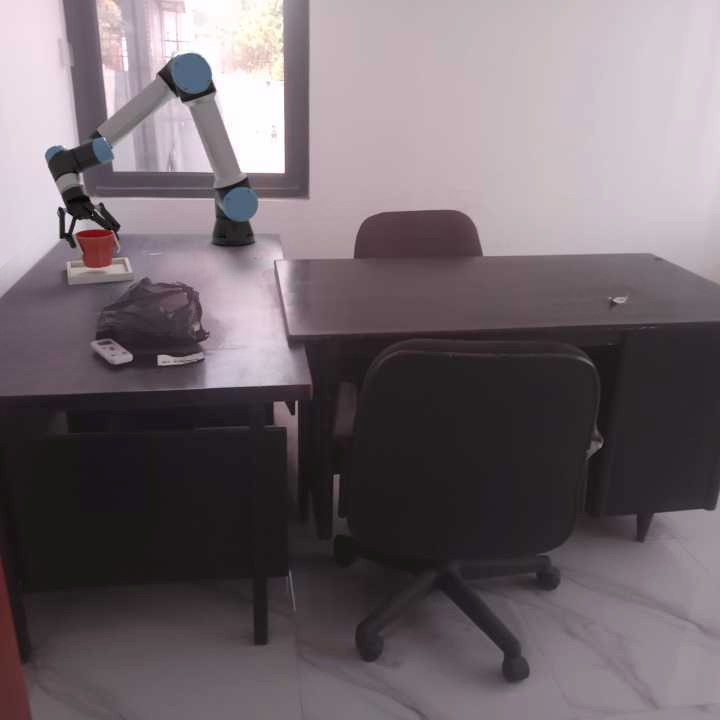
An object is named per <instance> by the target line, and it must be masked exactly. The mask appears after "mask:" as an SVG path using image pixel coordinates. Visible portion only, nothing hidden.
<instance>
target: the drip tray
mask: <svg viewBox="0 0 720 720" xmlns="http://www.w3.org/2000/svg"><path fill="white" fill-rule="evenodd" d="M129 260H130V259H129V258H128V257H117V258H116V257H115V258H113V257H112V262H111V265H110V266H108V267H102V268H88V267H86V266H85V265H84V263H83V260H75V261H74V260H72V261H66V270H67V271H66V272H67V274H66V275H67V283H68V286H73V285H83V284H97V283H98V284H99V283H109V282H123V281H133V280H134V273H133V270H132V266H131V263H130V261H129ZM132 279H133V280H132Z"/></svg>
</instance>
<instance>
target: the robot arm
mask: <svg viewBox="0 0 720 720" xmlns="http://www.w3.org/2000/svg"><path fill="white" fill-rule="evenodd" d="M215 84H216V83H215V82H214V79H213V71H212V67H211V65H210V63H209V61H208V60H207V58H205V56H204V55H202V54H201V53H199V52H197V51H192V50H183V51H180V52H176V53H175V54H174V55H173V56H171V58H169V60H168V61H167V62H166V64H165V65H164V66H163V67H162V68H161V69H160V70H159V71H157V72H156V73H155V79H154V80H151V82H150V83H149V84H147V85H146V86H145V87H144V88H143V89H142V90H141V91H139V92H138V93H137V94H136V95H135V96H133V97H132V98H131V99H130V100H129V101H128V102H127V103H125V104H124V105H123V106H122V107H121V108H120V109H119V110H117V111H116V112H115V113H114V114H112V115H111V116H110V117H109V118H107V120H105V121H104V122H103V123H102V124H100V126H99V127H97V128H96V130H94V131H93V132H92V133H90V134H89V135H87V136H85V137H84V138H83V139H82V140H81V141H80V144H79V145H77V146H76V147H72V148H70V149H68V147H67V146H65V145H60V144H59V145H54V146H51V147H49V148H48V149H47V150H45V154H44V159H45V162H46V164H47V167H48V170H49V172H50V175H51V176H52V179H53V181H54V183H55V185H56V188H57V190H58V192H59V195H60V196H61V199H62V201H63V204H64V206H65V207H62V206H58V208H57V210H56V214H57V216H58V219H59V220H58V221H59V222H58V223H59V226H58V227H59V228H58V230H59V231H58V232H59V235H58V236H59V237H58V238H59V239H60V240H63V239H64V240H65V241H66V242H68V244H69V246H70V248H71V249H72V250H73V249H74V251H75V253H76V255H77V258H78V259H79V260H82V256H83V252H82V249H81V247H80V245H79V242H78V240H77V238H76V235H75V234H73V233H74V229H75V226H76V223H77V220H78V221H83V220H85V221H87V220H90V221H92V222H94V223H96V224H97V225H98V226H100V227H101V229H103V230H109V231H112V232H113V233H114V242H113V249H114V251H115V253H116V254H119V253H120V251H121V250H122V249H121V248H122V247H121V245H120V236H119V234H118V232H119V231H120V229H121V227H122V226H121V224H120V223H119V222H118V221H117V219H115V217H114V216H113V215H112V213H110V212H109V210H107V208H106V207H105V204H104V203H103V202H101V201H100V202H99V204H94V203H93V202H92V201H91V198H90V195H89V193H88V190H87V189H86V186H85V184H84V182H83V180H82V179H83V178H82V177H81V176H80V174H83V173H85V172H86V171H90V170H92V169H95V168H97V167H100V166H103V165H107V164H108V163H110V162H112V161H113V160H115V158H116V157H115V154H114V152H113V149H114V148H116V146H118V145H119V144H120V143H121V142H122V141H123V140H124V139H126V138H127V137H128V136H129V135H130V134H132V133H133V132H134V131H136V129H138V128H139V127H140V126H142V124H144V123H145V122H146V121H147V120H148V119H150V117H152V116H153V115H155V113H156V112H157V111H159V110H160V109H161V108H163V107H164V106H166V104H167V103H169V102H170V101H171V100H172V99H176V100H177V99H178V98H179V99H180V101H181V104H182V105H185V106H186V107H188V109H189V112H190V115H191V118H192V120H193V122H194V125H195V129H196V130H197V133H198V135H199V138H200V141H201V144H202V146H203V148H204V152H205V154H206V157H207V159H208V162H209V164H210V167H211V169H212V172H213V176H214V178H213V184H212V186H213V192H214V197H213V198H214V215H215V221H214V225H213V229H212V231H211V232H212V233H211V242H212V243H213V244H215V245H220V246H228V247H229V246H231V247H233V246H244V245H245V246H246V245H249V244H252V243H254V242H255V240H256V239H255V232H254V229H253V226H252V223H251V222H250V220H251V219H253V217H254V216H255V215H256V213H257V211H258V209H259V200H258V196H257V194H256V193H255V191H253V187H252V185H251V182H250V179H249V176H248V174H247V173H245V172H243V171H241V167H240V165H239V163H238V160H237V157H236V154H235V151H234V148H233V146H232V142H231V141H230V137H229V134H228V132H227V129H226V126H225V124H224V120H223V118H222V116H221V112H220V110H219V107H218V105H217V102H216V99H215V97H216V95H217V92H218V89H217V88H216V85H215ZM67 214H68V215H69V216H71V217H72V219H71V221H70V224H69V228H68V232H66V215H67Z"/></svg>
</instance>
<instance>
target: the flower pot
mask: <svg viewBox="0 0 720 720" xmlns="http://www.w3.org/2000/svg"><path fill="white" fill-rule="evenodd" d="M74 235H76V238H77V240H78V242H79V245H80V247H81V249H82V252H83V256H82V259H81V261H83V263H84V265H85V266H86V267H88V268H102V267H108V266H110V265H111V262H112V259H113V250H114V246H113V242H114V233H113V232H112V231H109V230H105V229H104V228H97V229H95V228H94V229H93V228H91V229H86V230H85V229H84V230H80V231H77V232H76V233H75V234H74Z"/></svg>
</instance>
